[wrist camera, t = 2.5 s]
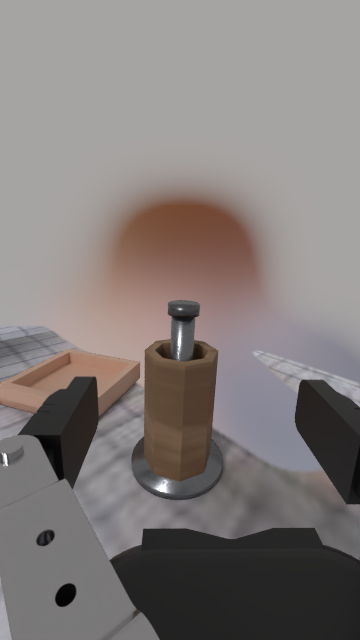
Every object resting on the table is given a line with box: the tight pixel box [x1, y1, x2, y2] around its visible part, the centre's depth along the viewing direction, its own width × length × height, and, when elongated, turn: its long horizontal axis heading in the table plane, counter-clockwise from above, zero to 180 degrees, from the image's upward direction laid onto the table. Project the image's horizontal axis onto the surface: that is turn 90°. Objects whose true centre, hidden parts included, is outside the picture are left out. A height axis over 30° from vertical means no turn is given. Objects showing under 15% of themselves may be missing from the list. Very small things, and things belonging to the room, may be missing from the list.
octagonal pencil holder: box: [144, 339, 218, 482], centre depth 25 cm, size 5×7×10 cm
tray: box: [0, 349, 140, 417], centre depth 37 cm, size 12×12×2 cm
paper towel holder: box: [132, 300, 223, 500], centre depth 24 cm, size 8×8×14 cm
